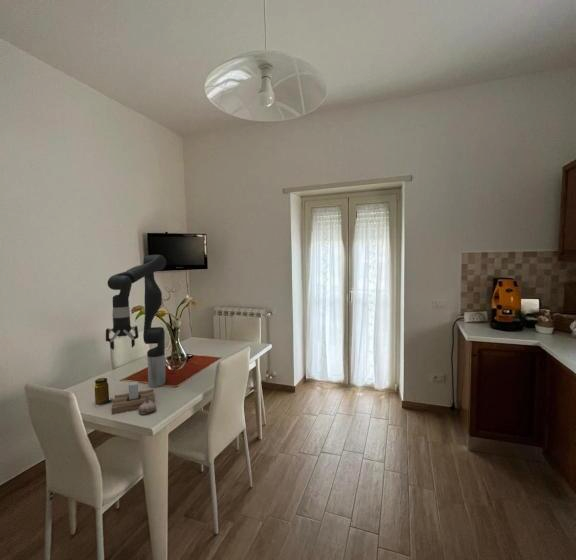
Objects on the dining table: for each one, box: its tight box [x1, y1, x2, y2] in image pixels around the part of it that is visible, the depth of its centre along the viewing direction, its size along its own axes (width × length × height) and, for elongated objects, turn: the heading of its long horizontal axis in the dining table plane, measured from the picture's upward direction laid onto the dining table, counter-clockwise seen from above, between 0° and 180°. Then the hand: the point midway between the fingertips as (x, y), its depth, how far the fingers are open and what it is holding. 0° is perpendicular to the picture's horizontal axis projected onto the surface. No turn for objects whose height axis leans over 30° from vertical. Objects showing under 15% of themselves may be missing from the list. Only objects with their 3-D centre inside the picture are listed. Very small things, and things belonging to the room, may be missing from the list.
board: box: [111, 388, 155, 415], centre depth 155 cm, size 15×18×3 cm
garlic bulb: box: [137, 396, 157, 415], centre depth 146 cm, size 8×7×8 cm
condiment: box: [93, 377, 114, 408], centre depth 157 cm, size 7×8×12 cm
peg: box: [128, 381, 139, 401], centre depth 154 cm, size 4×4×10 cm
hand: (122, 348), depth 154 cm, fingers open, 8 cm apart
